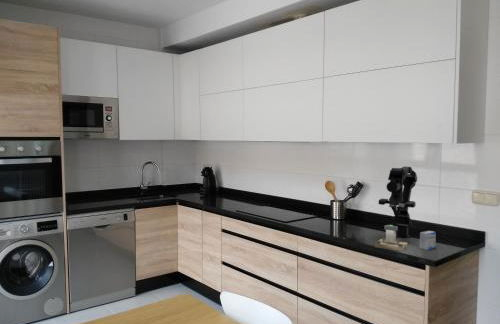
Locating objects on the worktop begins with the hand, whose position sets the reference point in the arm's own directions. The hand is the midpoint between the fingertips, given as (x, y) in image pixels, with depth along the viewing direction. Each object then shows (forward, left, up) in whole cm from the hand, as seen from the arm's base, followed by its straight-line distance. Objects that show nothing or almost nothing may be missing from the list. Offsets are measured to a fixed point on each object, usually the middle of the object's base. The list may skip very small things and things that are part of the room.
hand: (396, 218), depth 216 cm
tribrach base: (+12, +5, -13) cm, 19 cm away
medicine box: (-1, +18, -13) cm, 22 cm away
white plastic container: (+14, +6, -10) cm, 18 cm away
